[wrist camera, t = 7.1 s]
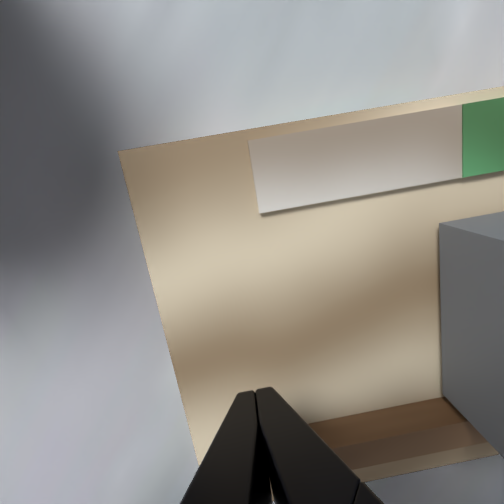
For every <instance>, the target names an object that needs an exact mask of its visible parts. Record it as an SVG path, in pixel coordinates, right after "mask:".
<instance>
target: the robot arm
mask: <svg viewBox="0 0 504 504" xmlns="http://www.w3.org/2000/svg"><path fill="white" fill-rule="evenodd" d="M270 483H271V484H270ZM271 488H272V492H271ZM272 493H273V498H274V502H275V504H384V503H383V502H382V501H381V500H380V499H379V498H378V497H377V496H376V495H375V494H374V493H373V492H372V491H371V490H370V489H369V487H368V486H367V485H366V484H365V483H364V482H361V480H360V478H359V477H358V476H357V475H356V474H355V473H354V472H353V471H352V470H351V469H350V468H349V467H348V466H347V465H346V464H345V463H344V462H343V460H342V459H341V458H340V457H339V456H338V455H337V454H336V453H335V452H334V451H333V450H332V449H331V448H330V447H329V446H328V445H327V444H326V443H325V442H324V441H323V439H322V438H321V437H320V436H319V435H318V434H317V433H316V432H315V431H314V430H313V429H312V428H311V427H310V426H309V425H308V424H307V423H306V422H305V421H304V420H303V419H302V417H301V416H300V415H299V414H298V413H297V412H296V411H295V410H294V409H293V408H292V407H291V406H290V405H289V404H288V403H287V402H286V401H285V400H284V399H283V398H282V397H281V395H280V394H279V393H278V392H277V391H276V390H275V389H274V388H273V387H264V388H259V389H257V390H256V391H255V392H254V391H253V390H249V391H244V392H239V393H238V394H237V395H236V397H235V399H234V401H233V403H232V404H231V406H230V408H229V410H228V412H227V414H226V416H225V418H224V420H223V422H222V424H221V426H220V428H219V430H218V431H217V433H216V435H215V437H214V439H213V441H212V443H211V445H210V447H209V449H208V451H207V453H206V455H205V457H204V458H203V460H202V462H201V464H200V466H199V468H198V470H197V472H196V474H195V476H194V478H193V480H192V482H191V484H190V485H189V487H188V489H187V491H186V493H185V495H184V497H183V499H182V501H181V503H180V504H272Z"/></svg>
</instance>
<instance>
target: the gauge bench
mask: <svg viewBox="0 0 504 504" xmlns="http://www.w3.org/2000/svg"><path fill="white" fill-rule="evenodd" d="M118 155H119V158H120V162H121V166H122V170H123V174H124V178H125V182H126V185H127V189H128V193H129V197H130V201H131V205H132V209H133V213H134V216H135V220H136V224H137V228H138V232H139V236H140V240H141V244H142V247H143V251H144V255H145V259H146V263H147V267H148V271H149V274H150V278H151V282H152V286H153V290H154V294H155V298H156V302H157V305H158V309H159V313H160V317H161V321H162V325H163V329H164V333H165V336H166V340H167V344H168V348H169V352H170V356H171V360H172V363H173V367H174V371H175V375H176V379H177V383H178V387H179V391H180V394H181V398H182V402H183V406H184V410H185V414H186V418H187V421H188V425H189V429H190V433H191V437H192V441H193V445H194V449H195V452H196V456H197V460H198V464H199V466H200V464H201V462H202V460H203V458H204V457H205V455H206V453H207V451H208V449H209V447H210V445H211V443H212V441H213V439H214V437H215V435H216V433H217V431H218V430H219V428H220V426H221V424H222V422H223V420H224V418H225V416H226V414H227V412H228V410H229V408H230V406H231V404H232V403H233V401H234V399H235V397H236V395H237V394H238V393H239V392H244V391H249V390H253V391H254V392H255V391H256V390H257V389H259V388H264V387H273V388H274V389H275V390H276V391H277V392H278V393H279V394H280V395H281V397H282V398H283V399H284V400H285V401H286V402H287V403H288V404H289V405H290V406H291V407H292V408H293V409H294V410H295V411H296V412H297V413H298V414H299V415H300V416H301V417H302V419H303V420H304V421H305V422H306V423H307V424H308V425H309V426H310V427H311V428H312V429H313V430H314V431H315V432H316V433H317V434H318V435H319V436H320V437H321V438H322V439H323V441H324V442H325V443H326V444H327V445H328V446H329V447H330V448H331V449H332V450H333V451H334V452H335V453H336V454H337V455H338V456H339V457H340V458H341V459H342V460H343V462H344V463H345V464H346V465H347V466H348V467H349V468H350V469H351V470H352V471H353V472H354V473H355V474H356V475H357V476H358V477H359V478H360V480H361V482H368V481H373V480H378V479H383V478H387V477H392V476H397V475H402V474H407V473H412V472H416V471H421V470H426V469H431V468H436V467H441V466H445V465H450V464H455V463H460V462H465V461H470V460H474V459H479V458H484V457H489V456H494V455H498V454H499V453H498V452H497V451H496V450H495V448H494V447H493V446H492V445H491V444H490V443H489V442H488V441H487V440H486V439H485V438H484V437H483V436H482V435H481V434H480V433H479V432H478V431H477V430H476V428H475V427H474V426H473V425H472V424H471V423H470V422H469V421H468V420H467V419H466V418H465V417H464V416H463V415H462V414H461V413H460V412H459V411H458V410H457V409H456V407H455V406H454V405H453V404H452V403H451V402H450V401H449V400H448V399H447V398H446V397H445V396H444V395H443V394H442V346H441V298H440V250H439V223H442V222H448V221H453V220H459V219H464V218H470V217H475V216H481V215H486V214H492V213H497V212H503V211H504V86H502V87H496V88H491V89H485V90H479V91H473V92H467V93H461V94H455V95H449V96H443V97H437V98H431V99H425V100H419V101H413V102H407V103H401V104H395V105H390V106H384V107H378V108H372V109H366V110H360V111H354V112H348V113H342V114H336V115H330V116H324V117H318V118H312V119H306V120H300V121H294V122H288V123H283V124H277V125H271V126H265V127H259V128H253V129H247V130H241V131H235V132H229V133H223V134H217V135H211V136H205V137H199V138H193V139H187V140H181V141H176V142H170V143H164V144H158V145H152V146H146V147H140V148H134V149H128V150H122V151H118ZM270 484H271V483H270ZM271 492H272V488H271ZM272 501H274V498H273V493H272Z"/></svg>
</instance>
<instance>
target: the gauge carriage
mask: <svg viewBox="0 0 504 504" xmlns="http://www.w3.org/2000/svg"><path fill="white" fill-rule="evenodd" d="M439 250H440V298H441V346H442V394H443V395H444V396H445V397H446V398H447V399H448V400H449V401H450V402H451V403H452V404H453V405H454V406H455V407H456V409H457V410H458V411H459V412H460V413H461V414H462V415H463V416H464V417H465V418H466V419H467V420H468V421H469V422H470V423H471V424H472V425H473V426H474V427H475V428H476V430H477V431H478V432H479V433H480V434H481V435H482V436H483V437H484V438H485V439H486V440H487V441H488V442H489V443H490V444H491V445H492V446H493V447H494V448H495V450H496V451H497V452H498V453H499V454H500V455H501V456H502V457H503V458H504V211H503V212H497V213H492V214H486V215H481V216H475V217H470V218H464V219H459V220H453V221H448V222H442V223H439Z"/></svg>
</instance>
